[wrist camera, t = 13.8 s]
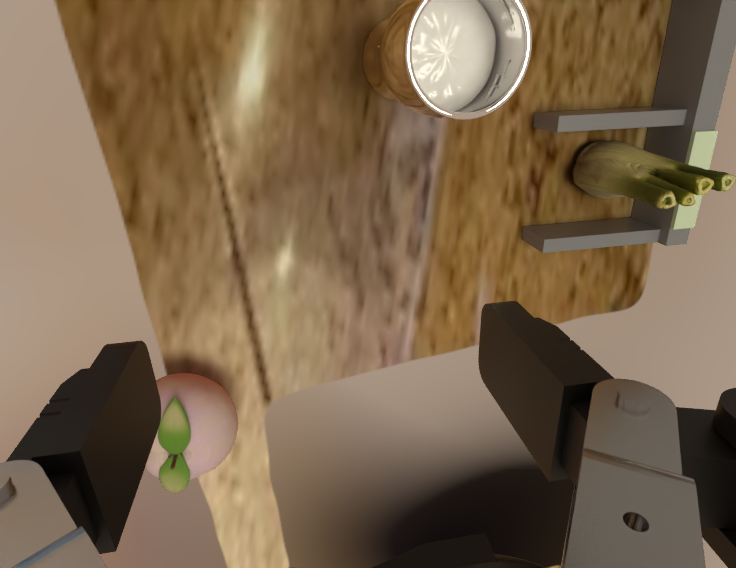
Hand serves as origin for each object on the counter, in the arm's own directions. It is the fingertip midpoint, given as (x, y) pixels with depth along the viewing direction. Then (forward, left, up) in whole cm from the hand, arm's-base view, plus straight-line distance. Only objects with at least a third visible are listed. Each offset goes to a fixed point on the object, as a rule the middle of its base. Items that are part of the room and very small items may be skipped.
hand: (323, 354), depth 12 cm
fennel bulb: (+2, +27, -30) cm, 41 cm away
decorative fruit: (+21, -11, -30) cm, 39 cm away
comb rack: (-2, +27, -30) cm, 40 cm away
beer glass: (-7, +9, -30) cm, 32 cm away
